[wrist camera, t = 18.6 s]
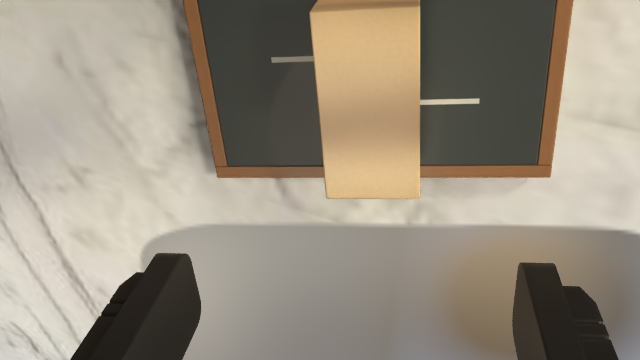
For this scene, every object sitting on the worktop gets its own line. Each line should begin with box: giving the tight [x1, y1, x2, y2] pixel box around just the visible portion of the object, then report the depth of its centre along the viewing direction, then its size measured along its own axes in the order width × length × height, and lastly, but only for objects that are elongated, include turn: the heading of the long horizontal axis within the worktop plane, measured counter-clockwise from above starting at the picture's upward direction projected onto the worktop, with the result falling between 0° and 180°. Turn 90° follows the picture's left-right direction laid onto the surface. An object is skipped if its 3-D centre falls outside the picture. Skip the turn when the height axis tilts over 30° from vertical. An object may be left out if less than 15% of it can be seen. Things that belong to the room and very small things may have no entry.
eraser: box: [309, 0, 420, 199], centre depth 30 cm, size 10×5×4 cm, turn 5°
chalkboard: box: [183, 0, 573, 178], centre depth 32 cm, size 12×20×1 cm, turn 95°
